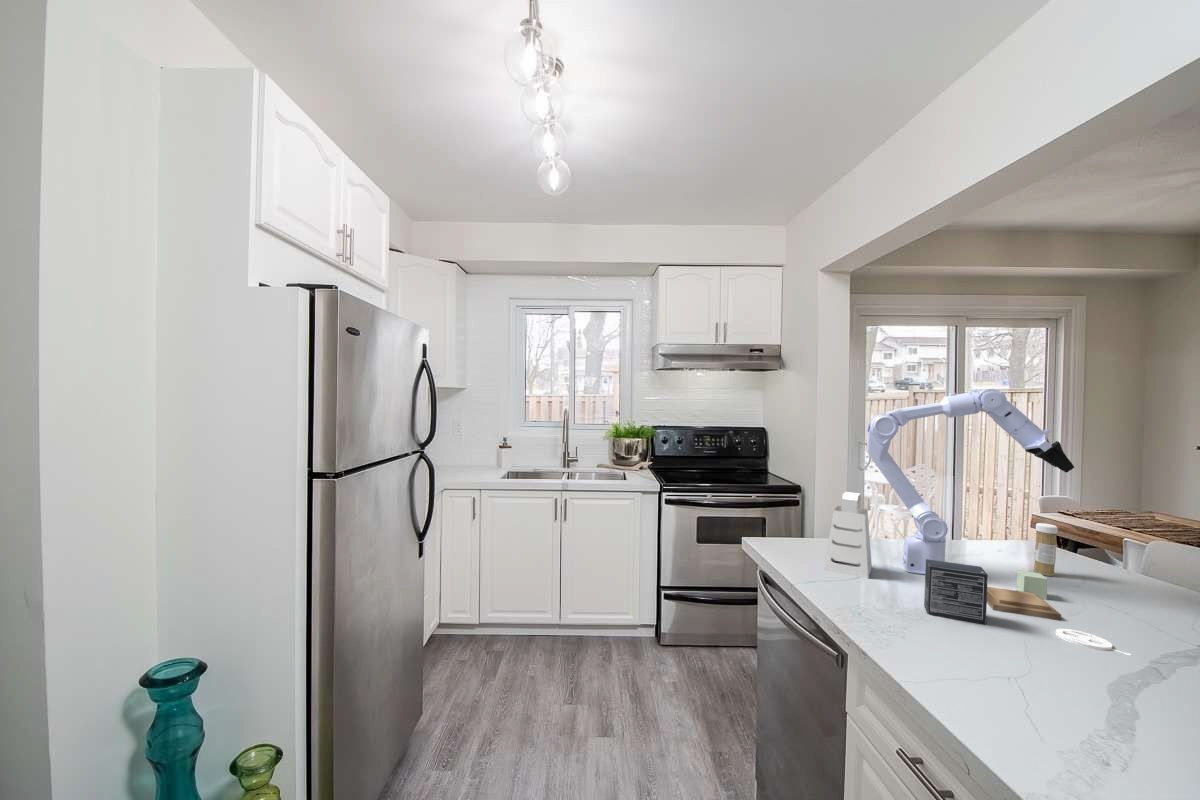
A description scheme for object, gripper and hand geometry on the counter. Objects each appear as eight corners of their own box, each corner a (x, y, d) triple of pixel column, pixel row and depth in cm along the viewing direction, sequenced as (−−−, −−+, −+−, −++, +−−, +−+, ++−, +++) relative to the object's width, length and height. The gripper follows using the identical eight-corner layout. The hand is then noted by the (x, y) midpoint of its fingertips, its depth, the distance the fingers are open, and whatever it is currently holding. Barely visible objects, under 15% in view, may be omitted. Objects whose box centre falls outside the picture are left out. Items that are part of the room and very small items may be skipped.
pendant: (1060, 629, 110) (1060, 625, 110) (1136, 651, 101) (1136, 647, 101) (1050, 638, 105) (1051, 634, 105) (1128, 662, 97) (1128, 657, 97)
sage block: (1023, 596, 127) (1024, 575, 127) (1016, 590, 132) (1017, 570, 132) (1046, 600, 126) (1047, 579, 126) (1038, 593, 130) (1039, 573, 130)
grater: (823, 569, 141) (827, 494, 141) (830, 560, 150) (833, 488, 150) (867, 578, 136) (871, 499, 136) (871, 567, 145) (875, 493, 144)
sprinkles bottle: (1035, 570, 149) (1038, 521, 149) (1056, 574, 145) (1059, 525, 145) (1031, 573, 146) (1034, 523, 146) (1052, 577, 143) (1055, 527, 142)
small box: (980, 614, 115) (982, 565, 115) (987, 625, 110) (989, 574, 109) (922, 604, 120) (925, 557, 120) (926, 614, 114) (929, 565, 114)
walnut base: (993, 609, 118) (993, 600, 118) (976, 591, 129) (977, 583, 129) (1060, 620, 114) (1061, 610, 114) (1037, 600, 125) (1038, 592, 125)
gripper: (1041, 418, 128) (1091, 461, 124) (1025, 413, 141) (1069, 452, 137) (1014, 437, 130) (1063, 480, 127) (1000, 431, 144) (1044, 469, 140)
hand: (1064, 467), depth 132 cm, fingers open, 7 cm apart
